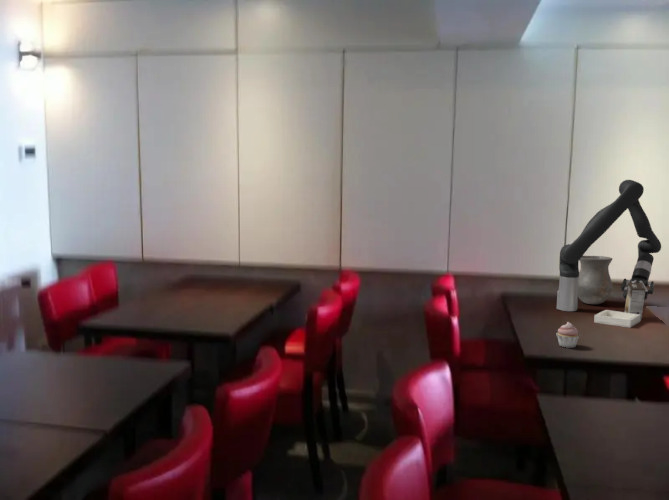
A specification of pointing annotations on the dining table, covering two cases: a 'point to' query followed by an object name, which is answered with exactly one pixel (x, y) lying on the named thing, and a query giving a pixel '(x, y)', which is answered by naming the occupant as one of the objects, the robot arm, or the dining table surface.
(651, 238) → the robot arm
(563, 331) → the cupcake
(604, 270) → the vase
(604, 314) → the dish
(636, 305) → the coffee box
